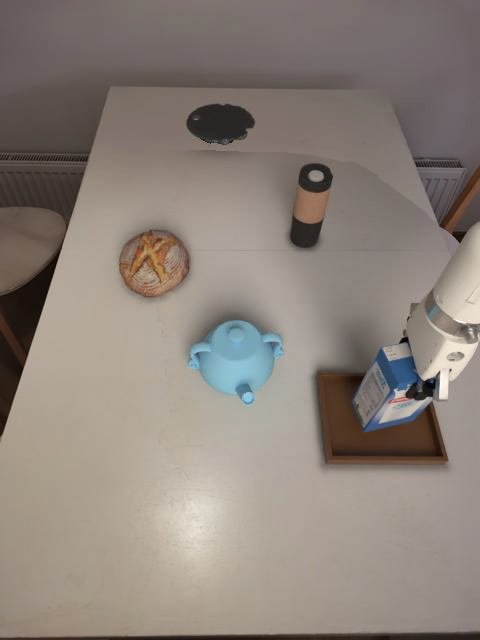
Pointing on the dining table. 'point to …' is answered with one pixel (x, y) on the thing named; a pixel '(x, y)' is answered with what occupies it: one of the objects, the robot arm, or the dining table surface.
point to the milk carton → (388, 390)
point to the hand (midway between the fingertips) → (409, 373)
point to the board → (220, 123)
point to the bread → (153, 263)
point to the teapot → (236, 358)
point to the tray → (377, 445)
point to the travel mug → (310, 204)
